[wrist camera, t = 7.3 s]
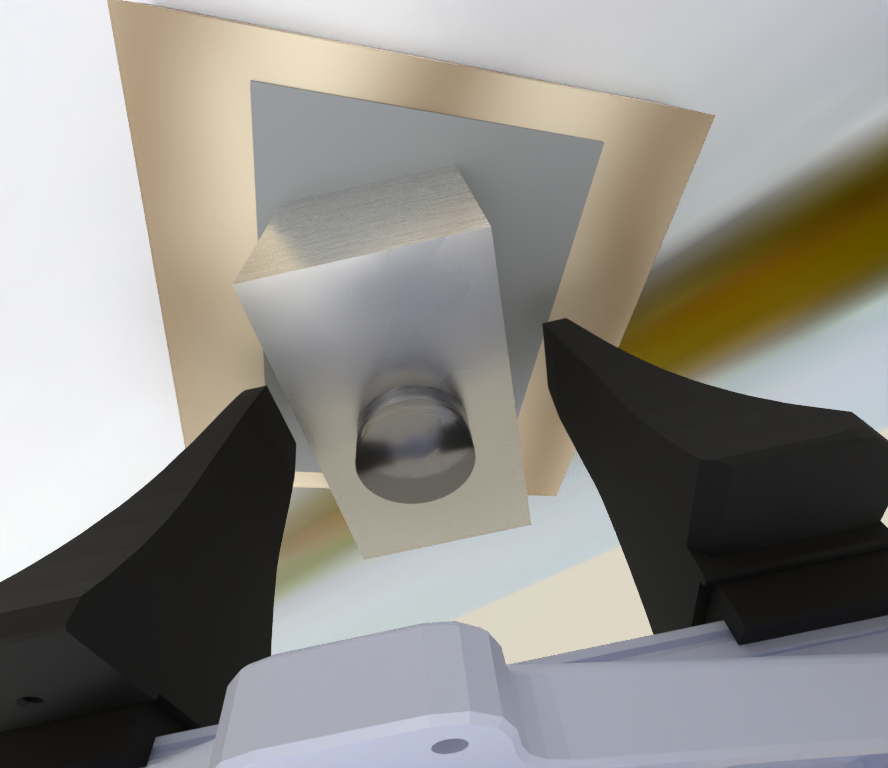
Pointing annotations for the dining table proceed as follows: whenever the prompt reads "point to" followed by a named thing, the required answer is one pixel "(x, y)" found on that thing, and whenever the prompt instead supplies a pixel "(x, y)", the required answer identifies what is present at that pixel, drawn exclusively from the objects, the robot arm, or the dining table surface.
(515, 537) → the dining table surface
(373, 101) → the stand
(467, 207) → the housing
